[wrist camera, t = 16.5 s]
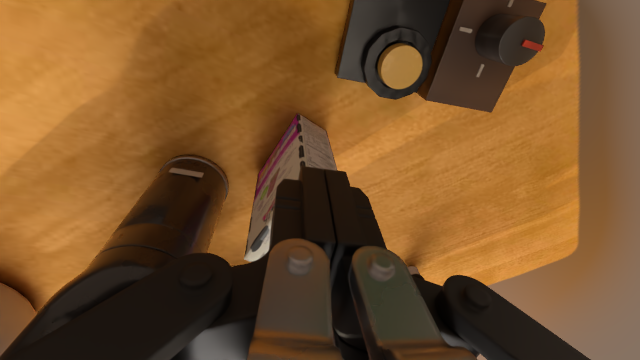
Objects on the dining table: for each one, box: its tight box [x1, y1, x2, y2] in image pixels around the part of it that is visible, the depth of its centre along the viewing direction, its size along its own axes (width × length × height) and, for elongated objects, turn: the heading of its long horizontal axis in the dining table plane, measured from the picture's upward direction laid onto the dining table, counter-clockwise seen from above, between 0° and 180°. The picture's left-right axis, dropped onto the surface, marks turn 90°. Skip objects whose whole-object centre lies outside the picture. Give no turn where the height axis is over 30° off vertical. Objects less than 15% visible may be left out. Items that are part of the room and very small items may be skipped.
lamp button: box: [377, 43, 422, 89], centre depth 32 cm, size 4×4×2 cm
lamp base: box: [335, 0, 450, 99], centre depth 32 cm, size 17×10×4 cm, turn 169°
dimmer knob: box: [475, 14, 545, 66], centre depth 31 cm, size 4×4×5 cm
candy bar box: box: [244, 114, 338, 262], centre depth 35 cm, size 11×5×16 cm, turn 146°
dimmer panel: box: [417, 0, 546, 112], centre depth 35 cm, size 12×9×3 cm
